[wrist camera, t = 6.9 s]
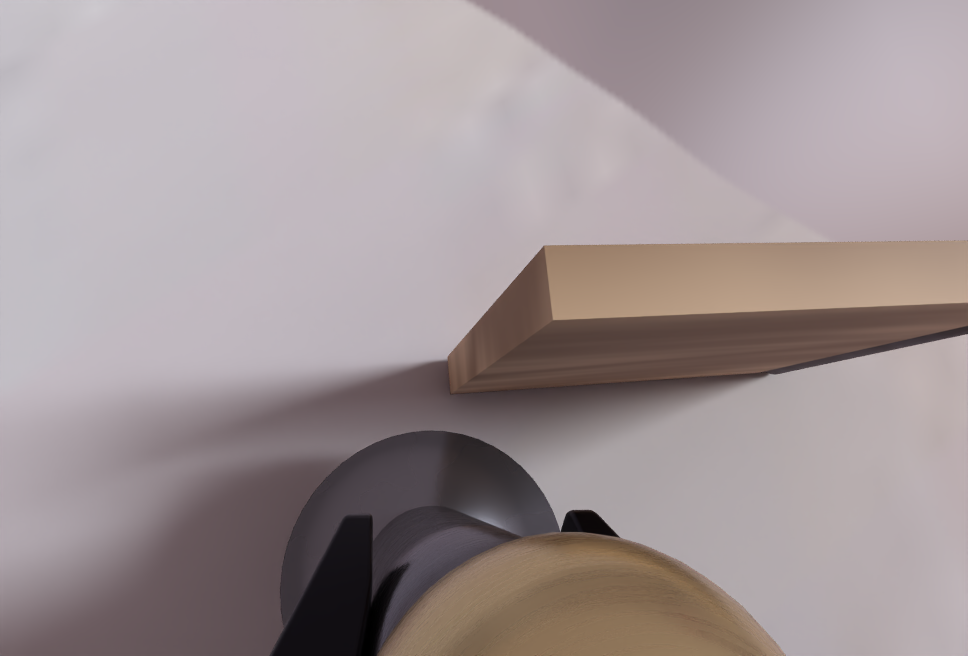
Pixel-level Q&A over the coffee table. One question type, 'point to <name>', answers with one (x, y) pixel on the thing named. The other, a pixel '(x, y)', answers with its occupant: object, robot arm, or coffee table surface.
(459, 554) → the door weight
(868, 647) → the coffee table surface
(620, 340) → the door
